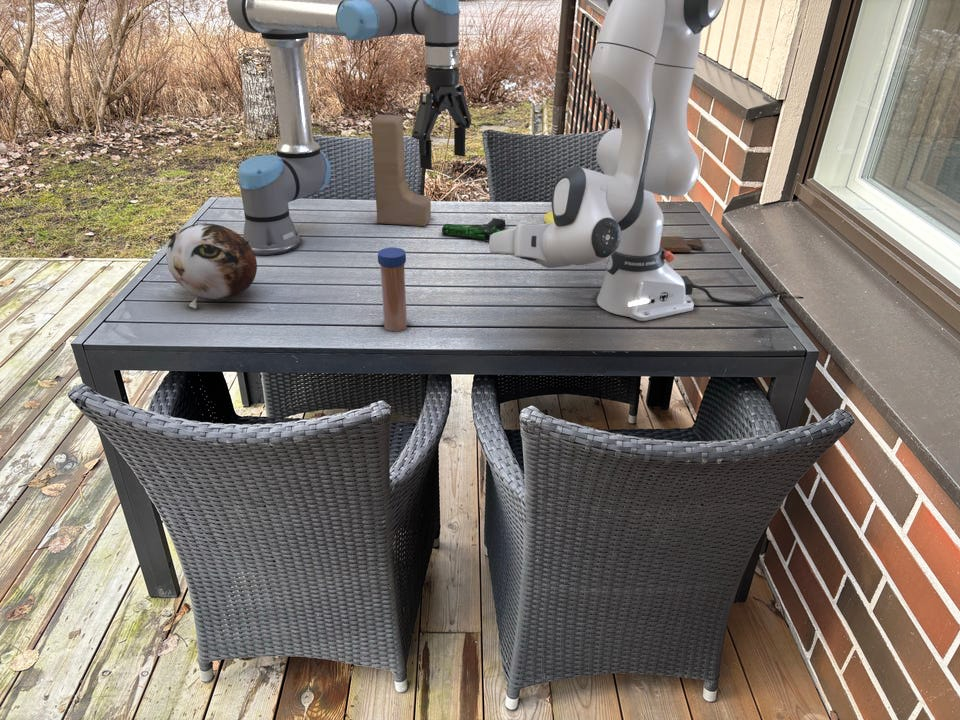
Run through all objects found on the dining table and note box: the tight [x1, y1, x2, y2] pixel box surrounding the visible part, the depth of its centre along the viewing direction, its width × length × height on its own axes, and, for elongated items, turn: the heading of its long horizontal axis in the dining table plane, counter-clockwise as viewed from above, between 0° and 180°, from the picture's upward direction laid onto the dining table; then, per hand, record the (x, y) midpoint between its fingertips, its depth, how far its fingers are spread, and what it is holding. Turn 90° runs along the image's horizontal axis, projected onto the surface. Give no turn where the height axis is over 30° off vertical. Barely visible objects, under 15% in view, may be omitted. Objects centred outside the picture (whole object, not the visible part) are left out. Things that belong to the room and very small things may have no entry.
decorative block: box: [370, 114, 432, 227], centre depth 207 cm, size 8×15×30 cm, turn 82°
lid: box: [377, 246, 407, 267], centre depth 149 cm, size 6×6×2 cm
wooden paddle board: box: [660, 235, 704, 253], centre depth 200 cm, size 26×2×10 cm
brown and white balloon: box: [165, 222, 258, 309], centre depth 165 cm, size 22×18×20 cm
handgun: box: [441, 217, 506, 242], centre depth 207 cm, size 16×3×15 cm
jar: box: [379, 264, 408, 332], centre depth 153 cm, size 5×5×17 cm
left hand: (443, 161), depth 169 cm, fingers open, 13 cm apart
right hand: (514, 251), depth 154 cm, fingers open, 8 cm apart
